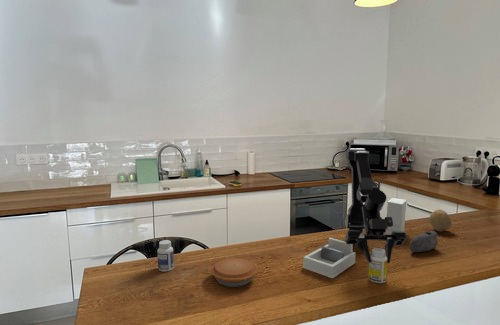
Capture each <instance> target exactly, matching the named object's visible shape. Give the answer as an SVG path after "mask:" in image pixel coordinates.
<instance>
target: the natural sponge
mask: <svg viewBox="0 0 500 325" xmlns="http://www.w3.org/2000/svg"><path fill="white" fill-rule="evenodd" d="M428 222H429V224H430V225H431V226H432V228H433V229H434V231H436V232H444V231H447V230H449V229H451V228H452V226H453V223H452V219H451V218H450V215H449V214H448V213H447V212H446V211H445V210H443V209H435V210H434V211H432V213H430V215H429V217H428Z"/></svg>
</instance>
